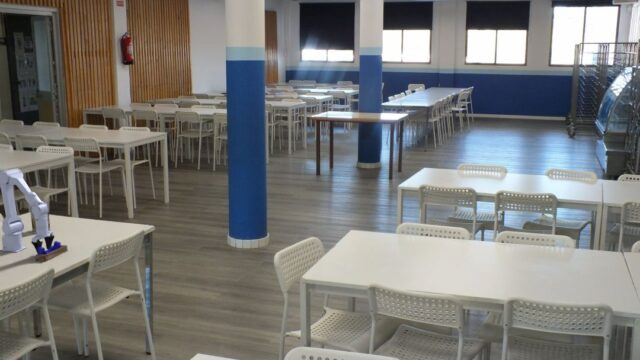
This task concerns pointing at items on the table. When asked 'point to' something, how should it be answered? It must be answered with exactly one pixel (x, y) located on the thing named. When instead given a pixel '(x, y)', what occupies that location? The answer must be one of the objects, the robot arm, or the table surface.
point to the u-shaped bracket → (51, 254)
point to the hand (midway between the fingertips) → (44, 251)
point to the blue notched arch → (52, 248)
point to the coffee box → (35, 221)
